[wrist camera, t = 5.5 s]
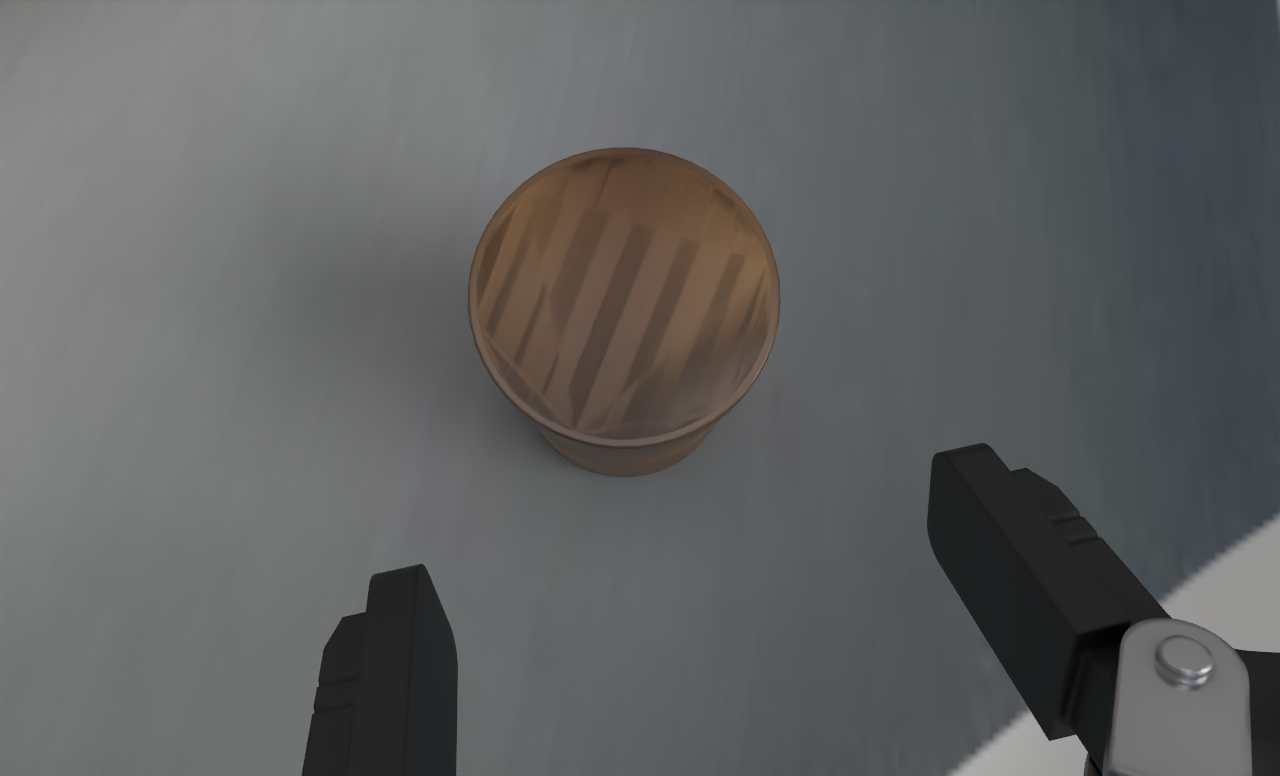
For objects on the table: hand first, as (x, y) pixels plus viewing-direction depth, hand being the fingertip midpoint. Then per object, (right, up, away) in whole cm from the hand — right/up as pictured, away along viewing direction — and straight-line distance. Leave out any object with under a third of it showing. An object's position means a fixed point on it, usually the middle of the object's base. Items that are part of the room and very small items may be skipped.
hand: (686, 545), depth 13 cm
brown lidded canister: (-1, +3, +10) cm, 10 cm away
